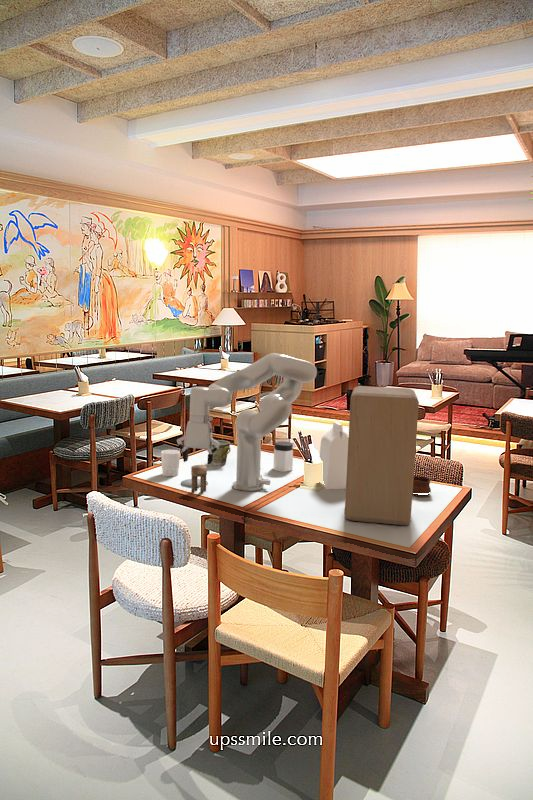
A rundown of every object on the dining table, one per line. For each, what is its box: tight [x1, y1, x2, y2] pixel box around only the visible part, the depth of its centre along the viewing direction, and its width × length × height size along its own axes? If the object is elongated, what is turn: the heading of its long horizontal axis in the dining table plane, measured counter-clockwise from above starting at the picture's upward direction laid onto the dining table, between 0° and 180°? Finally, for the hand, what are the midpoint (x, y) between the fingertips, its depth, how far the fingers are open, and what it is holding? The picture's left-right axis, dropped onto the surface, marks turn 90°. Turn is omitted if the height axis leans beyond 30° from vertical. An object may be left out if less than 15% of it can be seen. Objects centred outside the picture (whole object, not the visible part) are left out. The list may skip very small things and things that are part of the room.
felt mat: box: [180, 478, 209, 489], centre depth 253 cm, size 11×11×1 cm
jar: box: [273, 440, 294, 473], centre depth 278 cm, size 9×8×12 cm
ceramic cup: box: [211, 439, 231, 466], centre depth 283 cm, size 13×10×10 cm
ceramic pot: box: [412, 475, 432, 498], centre depth 247 cm, size 18×18×7 cm
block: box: [344, 385, 420, 526], centre depth 219 cm, size 22×22×45 cm
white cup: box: [160, 449, 181, 477], centre depth 264 cm, size 8×8×10 cm
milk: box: [319, 421, 349, 490], centre depth 256 cm, size 12×12×26 cm
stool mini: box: [190, 464, 208, 495], centre depth 241 cm, size 6×6×10 cm
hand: (197, 462), depth 240 cm, fingers open, 9 cm apart
